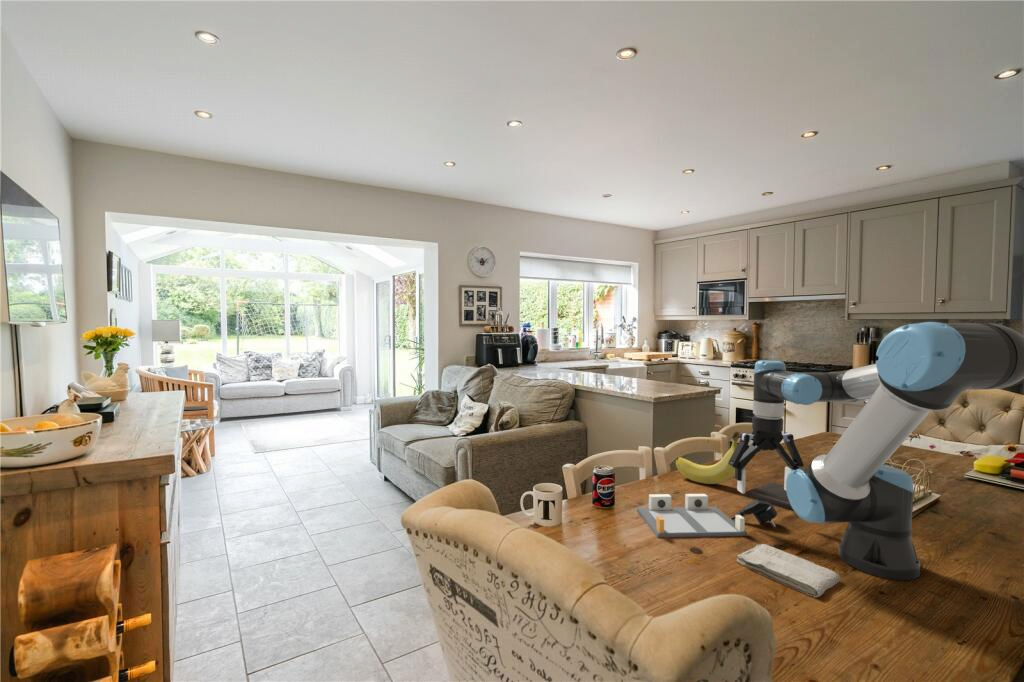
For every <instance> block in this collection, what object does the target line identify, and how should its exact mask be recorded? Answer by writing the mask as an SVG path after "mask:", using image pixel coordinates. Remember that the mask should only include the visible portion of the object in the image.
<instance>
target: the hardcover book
mask: <svg viewBox="0 0 1024 682" xmlns="http://www.w3.org/2000/svg"><path fill="white" fill-rule="evenodd" d="M745 494H746V495H745V496H748V497H747V498H750V497H751V498H750V499H753V498H754V499H753V500H756V499H757V500H760V501H766V502H769V503H771V504H772V506H776V507H779V508H781V507H782V509H784V508H785V509H784V510H787V509H788V511H790V510H792V511H791V512H794V510H793V508H792V506H791V504H790V502H789V499H788V496H787V491H786V490H784V484H781V483H780V484H779V483H776V482H773V481H772V482H771V481H770V482H769V483H765V484H763V485H760V486H756V487H754V488H751V489H749V490H747V491H746V492H745Z"/></svg>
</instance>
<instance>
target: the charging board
mask: <svg viewBox="0 0 1024 682" xmlns="http://www.w3.org/2000/svg"><path fill="white" fill-rule="evenodd" d="M636 512H637V513H638V515H640V517H641V518H642V520H643V521H644V522H645V523H646V524H647V526H648V527H649V528H650V530H651V531H652V532H653V534H654V535H655V537H656V538H685V537H686V538H687V537H688V538H693V537H694V538H698V537H699V538H700V537H701V538H702V537H703V538H704V537H747V536H748V531H746V529H745V521H746V519H745V518H744V516H743V517H742V516H741V515H737V514H735V515H734V516H735V519H734V520H735V521H734V520H732V519H730V518H731V517H730V516H728V515H727V514H725V513H724V511H722V510H721V509H719V508H718V507H717V506H709V495H707V494H706V493H685V497H684V506H681V507H680V506H679V507H678V506H676V507H675V506H674V507H672V495H670V494H668V493H666V494H664V493H663V494H661V493H659V494H658V493H655V494H653V493H652V494H651V493H650V494H648V507H636Z"/></svg>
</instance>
